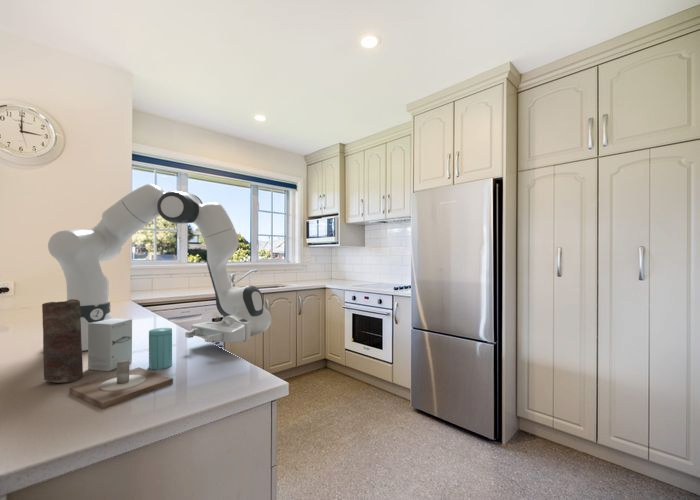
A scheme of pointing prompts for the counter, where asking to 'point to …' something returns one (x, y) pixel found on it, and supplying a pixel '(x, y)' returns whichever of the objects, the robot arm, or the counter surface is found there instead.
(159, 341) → the teal lidded canister
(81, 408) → the counter surface
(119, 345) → the supplement box
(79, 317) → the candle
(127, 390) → the mount plate
